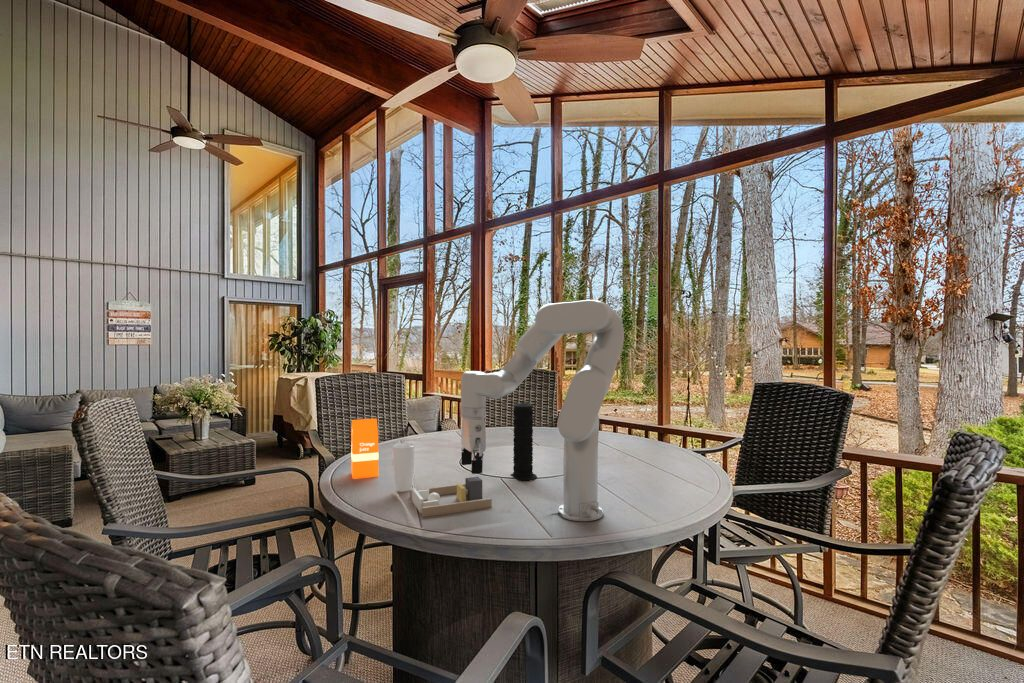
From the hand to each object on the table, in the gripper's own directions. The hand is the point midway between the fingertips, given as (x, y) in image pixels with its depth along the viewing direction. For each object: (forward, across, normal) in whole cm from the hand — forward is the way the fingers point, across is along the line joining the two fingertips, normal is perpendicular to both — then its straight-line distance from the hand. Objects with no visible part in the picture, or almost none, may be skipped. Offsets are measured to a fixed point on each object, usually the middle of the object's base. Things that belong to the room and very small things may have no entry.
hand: (471, 468), depth 152 cm
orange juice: (+12, +42, +26) cm, 51 cm away
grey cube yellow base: (+9, -1, +1) cm, 9 cm away
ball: (+6, -1, +10) cm, 12 cm away
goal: (+10, -1, +14) cm, 18 cm away
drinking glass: (+11, +17, +17) cm, 26 cm away
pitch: (+10, -1, +7) cm, 12 cm away
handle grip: (+10, +17, -25) cm, 32 cm away
